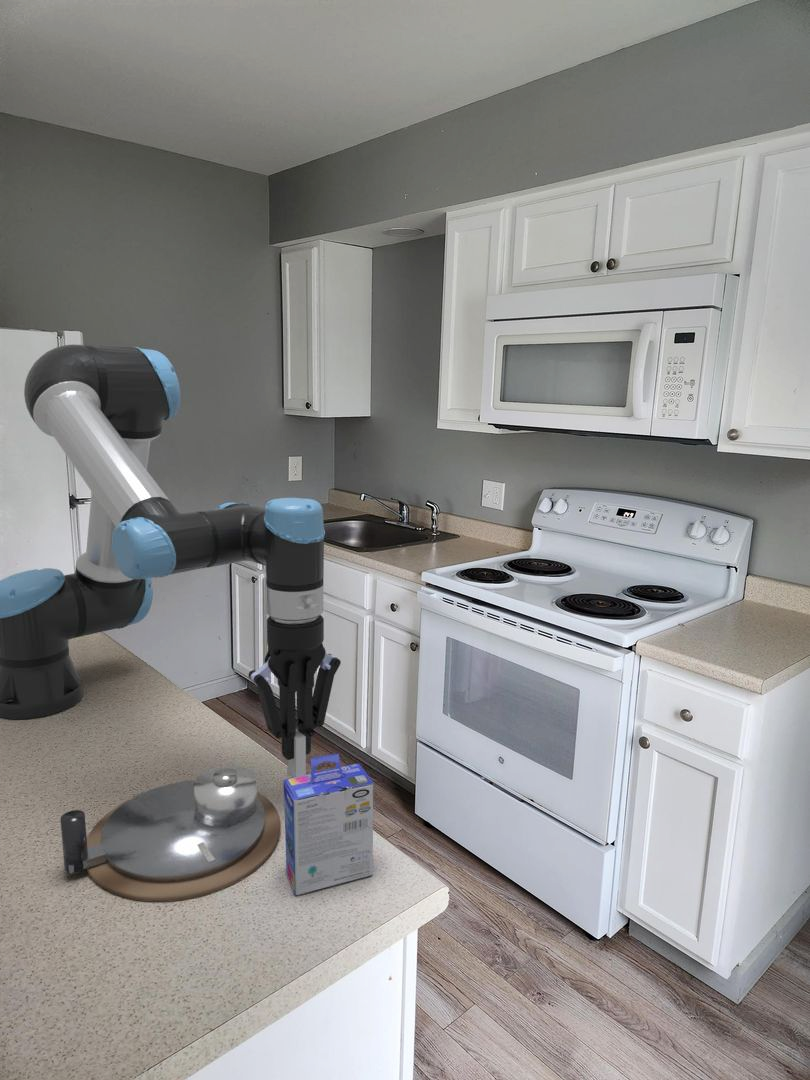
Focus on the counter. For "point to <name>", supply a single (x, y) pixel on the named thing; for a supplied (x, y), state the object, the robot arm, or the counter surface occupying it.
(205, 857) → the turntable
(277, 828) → the base
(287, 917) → the counter surface
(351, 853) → the ink cartridge box
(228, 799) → the cover
